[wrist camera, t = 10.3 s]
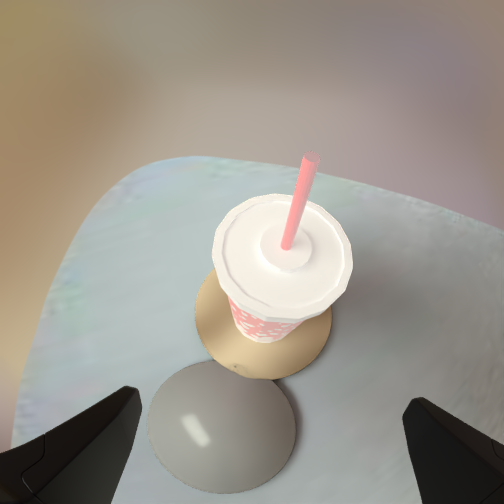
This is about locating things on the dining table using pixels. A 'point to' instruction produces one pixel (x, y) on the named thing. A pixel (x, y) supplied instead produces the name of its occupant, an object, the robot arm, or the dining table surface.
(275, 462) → the grey dome cap
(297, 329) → the shiny gold rounded object
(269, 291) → the beverage cup
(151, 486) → the dining table surface
